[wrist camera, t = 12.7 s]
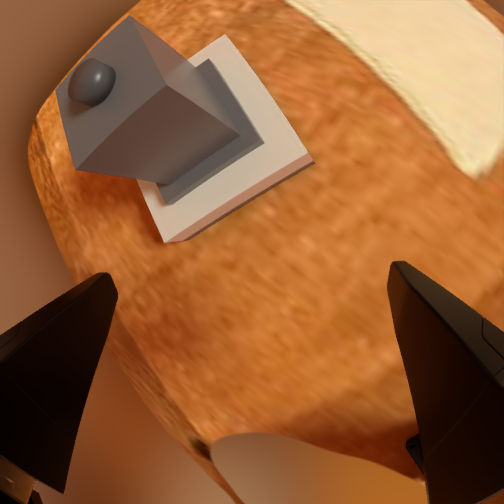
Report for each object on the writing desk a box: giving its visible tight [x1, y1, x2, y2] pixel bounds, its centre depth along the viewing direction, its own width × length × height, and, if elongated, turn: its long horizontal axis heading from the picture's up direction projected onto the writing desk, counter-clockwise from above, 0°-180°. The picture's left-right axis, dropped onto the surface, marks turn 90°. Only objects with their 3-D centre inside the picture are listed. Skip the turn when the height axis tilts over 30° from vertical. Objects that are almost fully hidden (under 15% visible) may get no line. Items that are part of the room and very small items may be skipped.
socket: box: [136, 35, 315, 243], centre depth 19 cm, size 10×10×3 cm
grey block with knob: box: [56, 15, 264, 205], centre depth 14 cm, size 7×7×11 cm
